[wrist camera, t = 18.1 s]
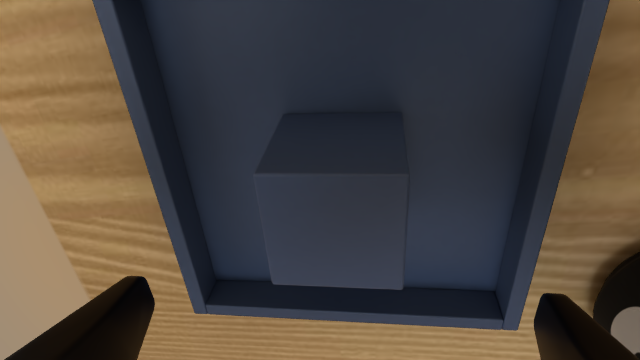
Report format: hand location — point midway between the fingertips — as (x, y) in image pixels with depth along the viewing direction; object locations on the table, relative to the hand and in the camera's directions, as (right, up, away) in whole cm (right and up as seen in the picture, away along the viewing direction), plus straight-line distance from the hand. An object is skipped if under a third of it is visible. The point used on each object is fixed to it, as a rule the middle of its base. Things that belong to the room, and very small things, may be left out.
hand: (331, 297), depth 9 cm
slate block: (+1, +3, +5) cm, 6 cm away
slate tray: (+1, +4, +6) cm, 7 cm away
